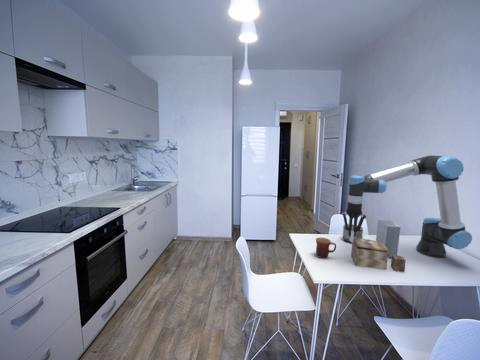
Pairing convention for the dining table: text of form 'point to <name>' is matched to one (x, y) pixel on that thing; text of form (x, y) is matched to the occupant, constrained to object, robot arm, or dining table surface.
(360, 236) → the planter
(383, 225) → the hard drive box
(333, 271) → the dining table surface
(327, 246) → the mug
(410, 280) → the dining table surface
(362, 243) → the lid
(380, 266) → the light wooden box
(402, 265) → the walnut block
